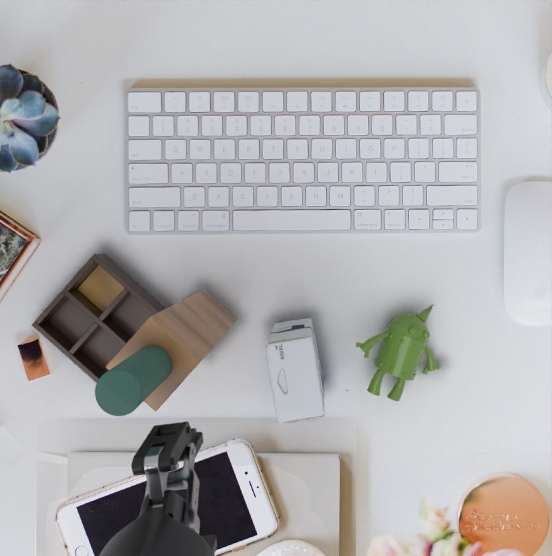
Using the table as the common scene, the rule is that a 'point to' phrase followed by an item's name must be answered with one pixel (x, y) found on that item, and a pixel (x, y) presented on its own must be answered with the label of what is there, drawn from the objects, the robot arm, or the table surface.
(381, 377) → the character figure
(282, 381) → the ink box
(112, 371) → the green cylinder
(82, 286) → the grid
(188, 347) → the pillar
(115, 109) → the table surface
